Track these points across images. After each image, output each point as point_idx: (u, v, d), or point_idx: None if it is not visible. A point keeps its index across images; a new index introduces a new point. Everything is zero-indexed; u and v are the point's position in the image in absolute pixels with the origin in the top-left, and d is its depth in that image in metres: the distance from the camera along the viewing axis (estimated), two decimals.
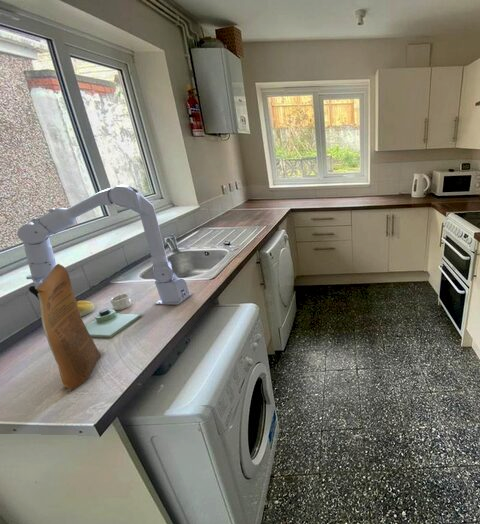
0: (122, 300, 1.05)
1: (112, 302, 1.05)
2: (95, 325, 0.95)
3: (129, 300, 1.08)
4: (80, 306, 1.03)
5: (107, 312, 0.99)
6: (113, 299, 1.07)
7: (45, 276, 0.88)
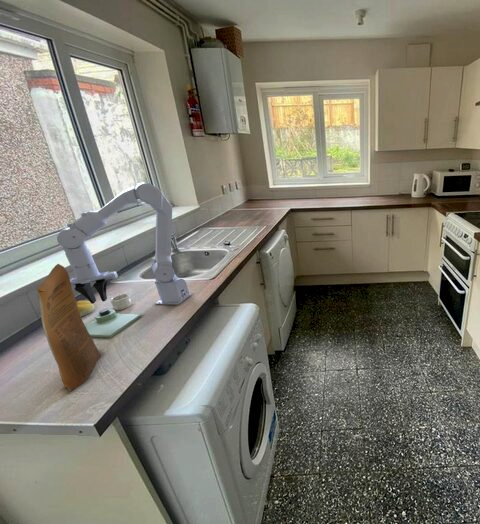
0: (122, 300, 1.05)
1: (112, 302, 1.05)
2: (95, 325, 0.95)
3: (129, 300, 1.08)
4: (80, 306, 1.03)
5: (107, 312, 0.99)
6: (113, 299, 1.07)
7: (99, 273, 0.95)
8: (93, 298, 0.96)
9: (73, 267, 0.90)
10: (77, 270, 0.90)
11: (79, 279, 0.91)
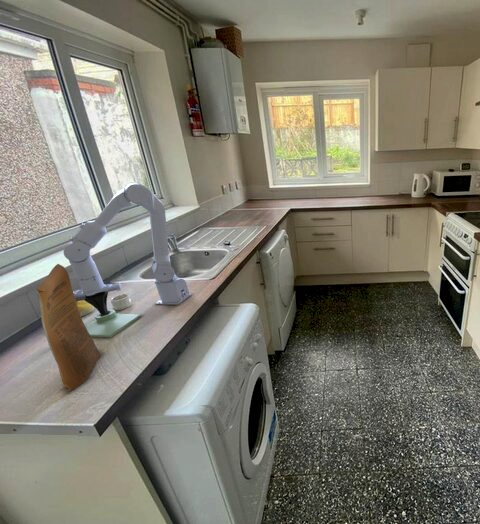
0: (122, 300, 1.05)
1: (112, 302, 1.05)
2: (95, 325, 0.95)
3: (129, 300, 1.08)
4: (80, 306, 1.03)
5: None
6: (113, 299, 1.07)
7: (104, 285, 0.97)
8: None
9: (79, 280, 0.91)
10: (83, 282, 0.92)
11: (85, 291, 0.93)
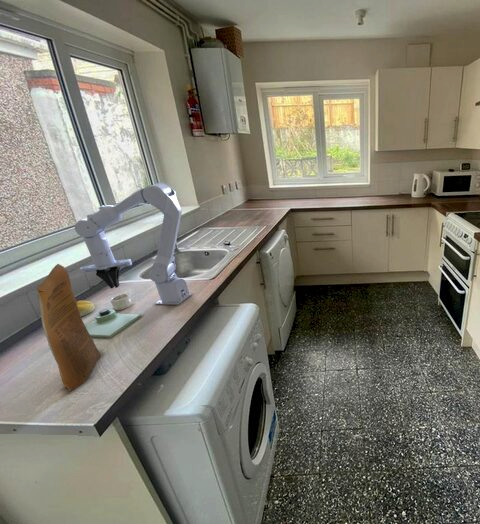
0: (122, 300, 1.05)
1: (112, 302, 1.05)
2: (95, 325, 0.95)
3: (129, 300, 1.08)
4: (80, 306, 1.03)
5: (107, 312, 0.99)
6: (113, 299, 1.07)
7: (115, 260, 1.03)
8: (112, 283, 1.04)
9: (92, 254, 0.97)
10: (96, 257, 0.98)
11: (97, 265, 0.99)
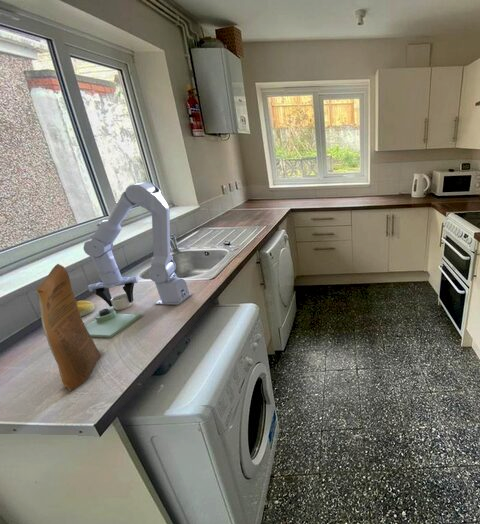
0: (122, 300, 1.05)
1: (112, 302, 1.05)
2: (95, 325, 0.95)
3: None
4: (80, 306, 1.03)
5: (107, 312, 0.99)
6: (113, 299, 1.07)
7: (122, 278, 1.06)
8: None
9: (100, 273, 1.00)
10: (103, 276, 1.00)
11: (105, 284, 1.01)
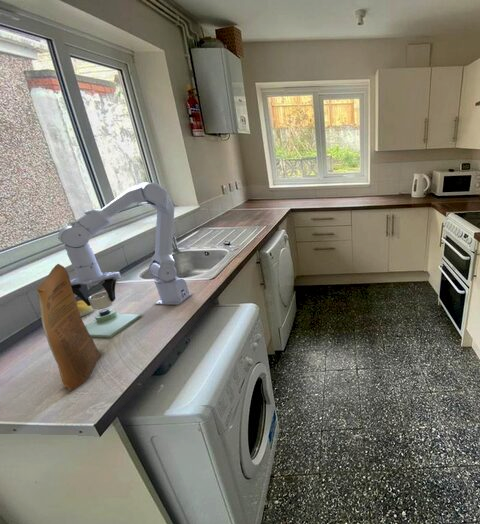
0: (102, 298, 0.92)
1: (90, 301, 0.91)
2: (95, 325, 0.95)
3: None
4: (80, 306, 1.03)
5: (107, 312, 0.99)
6: (92, 297, 0.94)
7: (101, 273, 0.92)
8: None
9: (75, 267, 0.87)
10: (79, 270, 0.87)
11: (81, 279, 0.88)
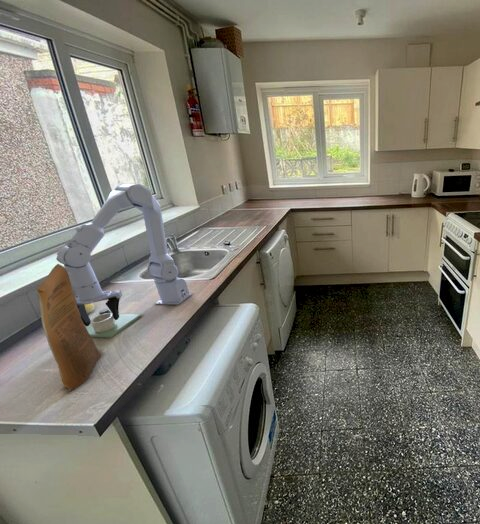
0: (104, 321, 0.91)
1: (92, 324, 0.90)
2: None
3: (113, 321, 0.93)
4: None
5: (107, 312, 0.99)
6: (94, 320, 0.92)
7: (102, 292, 0.90)
8: (88, 320, 0.91)
9: (75, 287, 0.85)
10: (80, 290, 0.85)
11: (82, 299, 0.86)
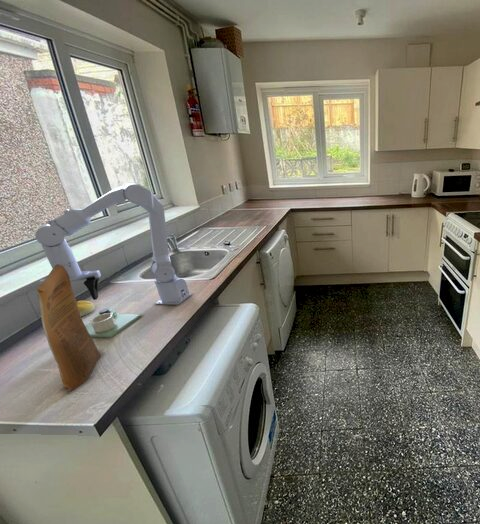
0: (104, 321, 0.91)
1: (92, 324, 0.90)
2: None
3: (113, 321, 0.93)
4: (80, 306, 1.03)
5: (107, 312, 0.99)
6: (94, 320, 0.92)
7: (81, 272, 0.92)
8: None
9: (53, 266, 0.86)
10: None
11: None
